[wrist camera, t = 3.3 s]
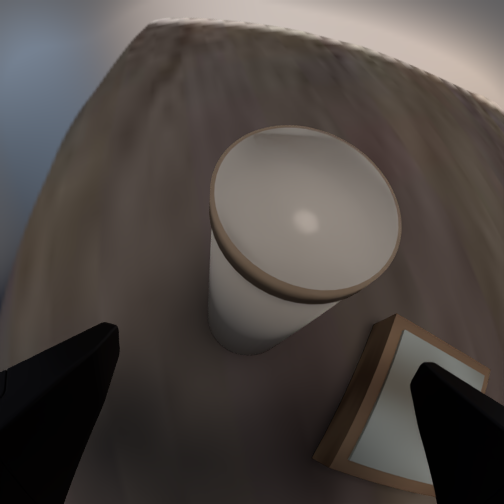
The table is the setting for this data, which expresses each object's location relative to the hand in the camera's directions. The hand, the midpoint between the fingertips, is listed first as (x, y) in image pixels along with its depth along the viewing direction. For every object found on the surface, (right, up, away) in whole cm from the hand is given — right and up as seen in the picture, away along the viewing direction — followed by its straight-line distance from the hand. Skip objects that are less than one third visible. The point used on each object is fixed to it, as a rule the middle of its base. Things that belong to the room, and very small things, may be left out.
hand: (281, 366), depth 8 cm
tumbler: (-1, -1, +12) cm, 12 cm away
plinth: (+10, -8, +10) cm, 16 cm away
